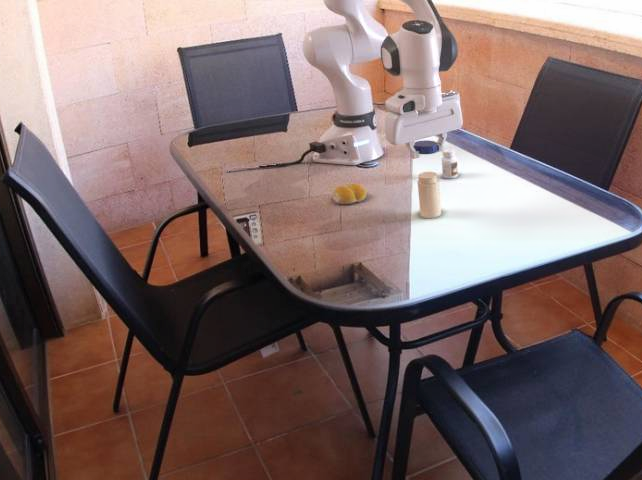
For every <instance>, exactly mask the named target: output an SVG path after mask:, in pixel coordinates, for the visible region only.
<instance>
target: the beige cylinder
mask: <svg viewBox="0 0 642 480" xmlns="http://www.w3.org/2000/svg"><path fill="white" fill-rule="evenodd" d="M440 190H441V189H440V179H439V178H438V174H437V172H434V171H423V172H420V173H419V174H418V180H417V192H418V204H419V213H420V215H419V216H420V217H422V218H424V219H434V218H438V217H439V216H441V214H442V206H441V205H442V204H441V192H440Z"/></svg>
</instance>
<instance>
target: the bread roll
mask: <svg viewBox="0 0 642 480" xmlns="http://www.w3.org/2000/svg"><path fill="white" fill-rule="evenodd" d="M366 197H367V190H366V189H365V187H364V186H362V184H360V183H351V184H347V185H342V186H341V185H340V186H337V187H336V188H335V189H334V190H333V193H332V199H333V201H334V202H335V203H337V204H339V205H351V204H354V203H356V202H358V203H359V202H362V201H364V200H365V199H366Z"/></svg>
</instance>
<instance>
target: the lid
mask: <svg viewBox="0 0 642 480" xmlns="http://www.w3.org/2000/svg"><path fill="white" fill-rule="evenodd" d="M437 142H438V141H434V140H427V139H426V140H416V141H414V143H415V145H413V147H414V149H415V150H418V151H419V155H433V154H436V153H437V151H438V146H437Z"/></svg>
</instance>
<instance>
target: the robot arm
mask: <svg viewBox="0 0 642 480" xmlns="http://www.w3.org/2000/svg"><path fill="white" fill-rule="evenodd" d="M365 2H366V1H365V0H323V4H324V5H325V7H326V8H327V9H328V10H329V11H331V12H332V13H334V14H336V15H338V16H340V17H343V18H345V19H344V20H345V23H342V24H339V25H338V24H337V25H330V26H322V27H318V28H315V29H312V30H310V31H307V32H306V33H305V35H304V37H303V40H302V45H301V46H302V52H303V55H304V58H305V59H306V61H307V62H308V63H309V64H310V65H311V66H312V67H314V68H316V69H317V70H319V71H320V72H321V73H322V74H323V75H324V76H325V77H326V79H327V80H328V81H329V83H330V86H331V88H332V90H333V91H332V92H333V95H334V99H335V104H336V110H334V113H333V114H332V115H331V117H330V119H331V122H332V123H333V124H332V125H331V126H330V127H328V129H327V130H326V131H325V132H324V133H323V134H322V135H321V136H320V137H319V140H318V141H312V142H309V143H308V144H309V149H307V150H306V151H304V152H303V153H302V154H301V156H300V158H299V159H298V160H295V161H291V162H279V164H278V163H275V164H276V165H268V164H266V165H267V166H259V167H260V168H259V169H267V168H269V169H270V168H278V167H279V168H280V167H288V166H293V165H298V164H300V163H302V162H303V161H304V159H305V158H306V156H307V155H309V154H310V153H312V152H313V155H312V162H314V163H324V164H334V165H335V164H336V165H345V166H346V165H347V166H357V165H360V164H362V163H366V162H371V161H374V160H377V159H379V158H381V157H383V155H384V150H383V147H382V145H381V142H380V138H379V134H378V129H377V126H378V125H377V124H378V122H377V115H376V110H375V108H374V102H373V96H372V95H373V94H372V87H371V85H370V83H369V81H368V80H367V79H365V77H362V76H359V75H357V74H353V73H351V71H350V66H351V65H356V64H361V63H371V62H373V61H376V60H379V59H381V64H382V65H381V66H382V68H383V69H384V70H385V71H386V72H387V73H388V74H390V75H391V76H393V77H402V78H403V80H402V81H403V82H402V89H400V90H399V91H398V92H397V93H395V94H393V95H392V96H390V97H388V98H387V99H386V100H385V102H384V107H385V108H386V110H388V111H387V112H386V114H385V117H384V131H385V139H386V141H387V142H388V143H389V144H391V145H393V146H395V147H397V146H401V145H405V146H406V148H408V151H409V153H410V154H409V155H410V158H411V159H412V160H414V159H418V158H420V154H419V151H418V150H415V149H414V147H413V145H415V143H414V142H417V141H421V140H423V139H427V138H430V137H435V136H438V138H437V141H436V142H437V146H438V151H437V152H438V153H439V152H443V150H444V149H445V148H444V147H445V146H444V144H445V142H446V140H447V137H448V133H449V132H452V131H456V130H460V129H461V128H462V127H463V124H464V120H463V112H462V109H461V96H460V94H459V92H457V91H456V90H454V89H451V90H448V91H442V81H441V78H440V72H441V73H443V72H448V71H449V70H450V69H451V68H452V66H453V65H454V64H455V62H456V60H457V59H458V54H459V48H458V47H459V46H458V42H457V40H456V38H455V36H454V34H453V33H452V31H451V30H450V29H449V27H448V26H447V25H446V23H445V21H444V20H443V19H442V16H441V15H440V13H439V12H438V9H437V7H436V6H435V4H434V3H433V0H399V2H402V3H404V4H406V5H407V6H408V7H409V8H410V10H411V11H412V13H413V14H414V16H415V18H416V19H411V20H408V21H405V22H403V23H402V24H401V25H400V27H399V30H398V31H397V32H394V33H391V34H389V33H388V31H387V29H386V28H385V26H384V25H383V24H381V22H379V21H377V20H376V19H375V18H374V17H373V16H372V15H371V14H370V12H369V10H368V8H367V6H366V3H365ZM437 152H436V153H437ZM280 163H281V164H280Z"/></svg>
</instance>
